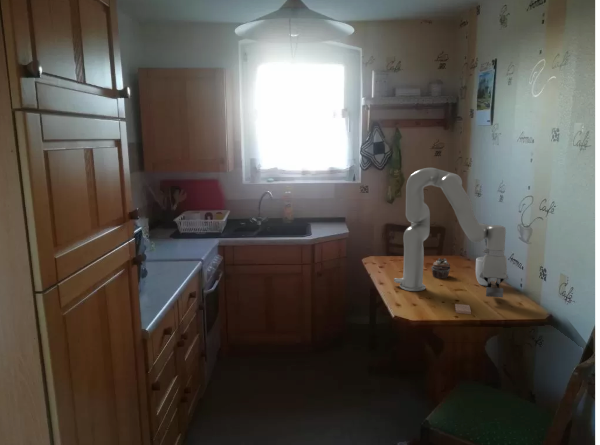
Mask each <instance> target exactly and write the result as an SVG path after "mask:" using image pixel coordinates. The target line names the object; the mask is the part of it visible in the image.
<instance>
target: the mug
mask: <svg viewBox="0 0 600 445" xmlns="http://www.w3.org/2000/svg"><path fill="white" fill-rule="evenodd" d="M483 260H484V256H480V257H479V256H478V257H476V259H475V277H476V280H477V282H478V284H479V285H481V286H483V287H487V285H488V283H487V282H486V281H485V280H484V279H482V278H480V274H481V272H482V267H483ZM491 281H494V282H495V283H496V281H497V278H491Z"/></svg>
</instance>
